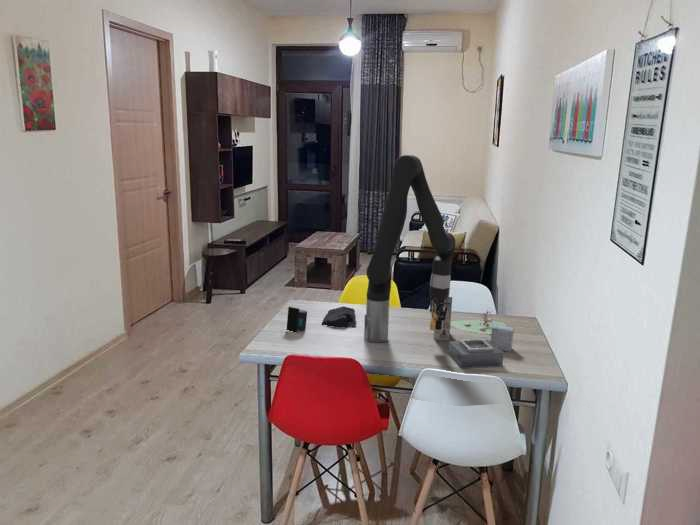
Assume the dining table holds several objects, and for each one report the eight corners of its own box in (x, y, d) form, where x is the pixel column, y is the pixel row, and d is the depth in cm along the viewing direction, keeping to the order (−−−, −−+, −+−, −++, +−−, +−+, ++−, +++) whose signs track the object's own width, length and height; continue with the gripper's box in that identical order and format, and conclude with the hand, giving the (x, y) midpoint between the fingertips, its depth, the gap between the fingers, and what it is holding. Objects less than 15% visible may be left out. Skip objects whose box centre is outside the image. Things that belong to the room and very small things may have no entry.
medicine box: (512, 348, 222) (514, 327, 220) (510, 352, 218) (512, 331, 216) (492, 344, 225) (493, 324, 223) (489, 348, 221) (491, 327, 219)
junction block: (461, 367, 202) (462, 351, 201) (448, 353, 214) (449, 338, 213) (502, 365, 205) (503, 349, 204) (487, 352, 217) (488, 336, 216)
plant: (450, 334, 238) (452, 313, 236) (446, 318, 258) (448, 299, 256) (510, 337, 236) (512, 316, 234) (501, 321, 256) (503, 302, 254)
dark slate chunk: (359, 313, 261) (359, 303, 260) (355, 329, 240) (355, 318, 239) (326, 311, 263) (327, 302, 261) (319, 327, 241) (320, 317, 240)
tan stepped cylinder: (431, 331, 215) (433, 315, 213) (428, 326, 220) (429, 311, 218) (443, 331, 216) (445, 315, 214) (439, 326, 220) (441, 311, 219)
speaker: (293, 334, 230) (295, 309, 229) (286, 330, 235) (287, 306, 233) (308, 332, 235) (310, 308, 234) (300, 329, 240) (302, 305, 238)
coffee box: (434, 331, 238) (436, 295, 235) (449, 333, 237) (452, 296, 234) (433, 339, 230) (435, 301, 226) (449, 340, 228) (451, 303, 225)
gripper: (425, 279, 220) (421, 320, 224) (436, 290, 206) (432, 333, 210) (443, 279, 221) (439, 320, 225) (455, 290, 207) (451, 333, 211)
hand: (436, 326), depth 217 cm, fingers closed on tan stepped cylinder, 4 cm apart
